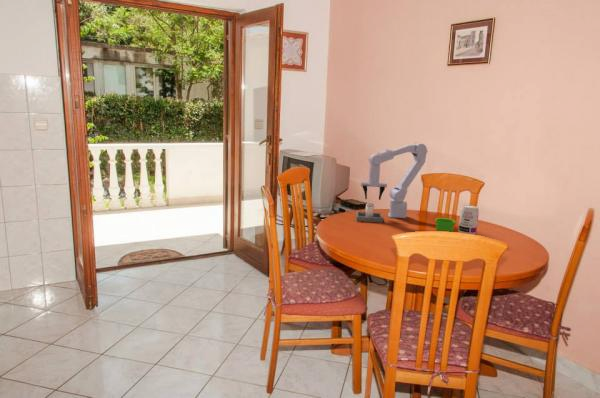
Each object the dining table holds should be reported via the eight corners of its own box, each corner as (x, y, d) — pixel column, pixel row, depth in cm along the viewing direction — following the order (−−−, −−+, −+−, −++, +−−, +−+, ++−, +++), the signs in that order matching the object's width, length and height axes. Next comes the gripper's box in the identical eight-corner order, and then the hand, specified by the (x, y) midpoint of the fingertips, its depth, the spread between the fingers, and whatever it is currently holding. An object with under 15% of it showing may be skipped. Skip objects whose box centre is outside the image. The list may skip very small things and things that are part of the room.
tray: (380, 217, 241) (380, 213, 241) (382, 222, 230) (383, 218, 229) (355, 216, 242) (356, 211, 242) (356, 221, 231) (357, 216, 230)
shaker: (372, 217, 238) (373, 203, 236) (373, 219, 234) (374, 204, 232) (364, 217, 238) (365, 203, 236) (365, 219, 233) (366, 204, 232)
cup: (456, 246, 191) (458, 223, 189) (435, 246, 191) (438, 222, 189) (449, 241, 200) (452, 218, 198) (430, 240, 200) (432, 217, 198)
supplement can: (472, 234, 213) (476, 205, 210) (477, 239, 205) (481, 209, 202) (456, 233, 213) (459, 204, 210) (460, 238, 205) (463, 208, 202)
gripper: (361, 176, 236) (360, 199, 238) (388, 177, 235) (386, 201, 237) (361, 174, 243) (359, 197, 245) (386, 175, 241) (385, 198, 244)
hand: (372, 199), depth 242 cm, fingers open, 7 cm apart
